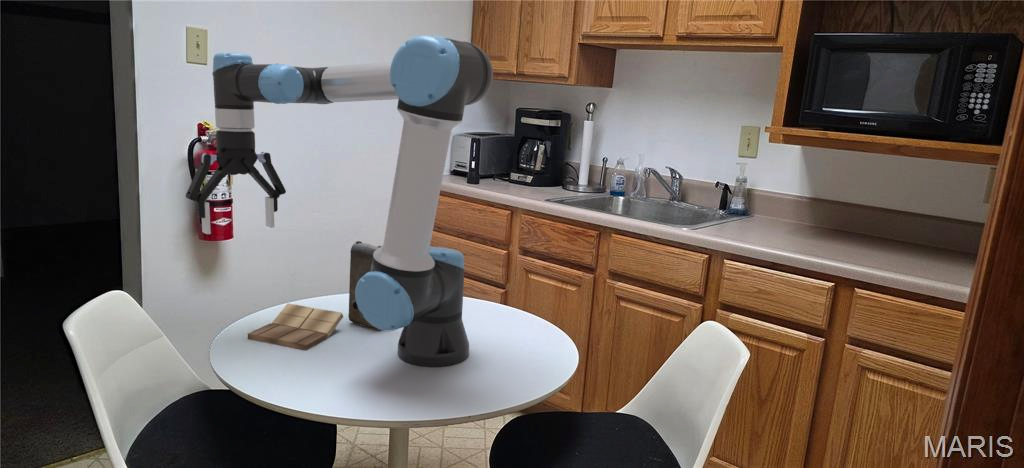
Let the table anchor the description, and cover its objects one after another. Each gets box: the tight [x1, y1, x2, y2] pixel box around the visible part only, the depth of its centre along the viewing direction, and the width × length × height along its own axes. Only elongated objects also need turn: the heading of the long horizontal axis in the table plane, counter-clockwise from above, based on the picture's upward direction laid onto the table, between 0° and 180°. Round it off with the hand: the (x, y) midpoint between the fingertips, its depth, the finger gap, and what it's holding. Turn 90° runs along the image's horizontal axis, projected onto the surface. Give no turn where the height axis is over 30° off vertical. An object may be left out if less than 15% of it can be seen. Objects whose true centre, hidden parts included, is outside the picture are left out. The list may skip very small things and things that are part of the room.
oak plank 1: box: [271, 303, 315, 329], centre depth 154 cm, size 7×6×1 cm
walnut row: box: [247, 322, 328, 351], centre depth 147 cm, size 15×8×1 cm, turn 71°
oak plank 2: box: [300, 307, 344, 338], centre depth 152 cm, size 7×6×1 cm
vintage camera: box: [348, 240, 383, 331], centre depth 161 cm, size 10×16×20 cm, turn 148°
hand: (239, 229), depth 144 cm, fingers open, 13 cm apart
